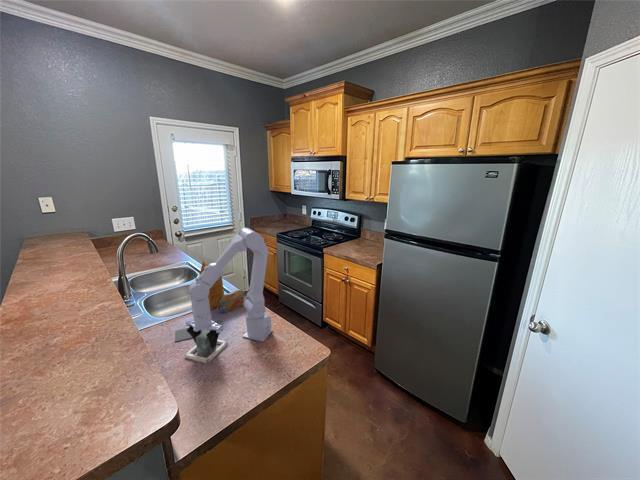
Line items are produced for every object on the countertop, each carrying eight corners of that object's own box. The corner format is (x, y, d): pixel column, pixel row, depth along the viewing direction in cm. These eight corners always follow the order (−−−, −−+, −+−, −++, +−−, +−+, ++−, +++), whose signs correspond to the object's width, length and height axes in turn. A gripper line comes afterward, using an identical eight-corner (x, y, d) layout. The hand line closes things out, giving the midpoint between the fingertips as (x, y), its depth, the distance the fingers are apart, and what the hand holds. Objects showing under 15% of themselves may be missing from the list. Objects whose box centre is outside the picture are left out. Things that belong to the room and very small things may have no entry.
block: (216, 347, 100) (213, 331, 98) (206, 356, 95) (204, 339, 93) (207, 345, 101) (205, 329, 99) (197, 353, 96) (195, 337, 94)
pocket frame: (227, 344, 101) (227, 341, 101) (207, 363, 91) (207, 360, 91) (206, 339, 105) (206, 336, 104) (185, 357, 95) (184, 354, 94)
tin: (219, 315, 121) (217, 299, 119) (216, 313, 124) (214, 297, 121) (248, 304, 132) (247, 289, 129) (245, 302, 134) (243, 287, 132)
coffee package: (217, 296, 140) (212, 257, 134) (227, 304, 132) (223, 263, 126) (198, 302, 133) (192, 262, 128) (207, 311, 125) (202, 268, 119)
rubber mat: (220, 320, 117) (220, 319, 117) (222, 330, 110) (222, 329, 110) (175, 331, 110) (175, 330, 109) (174, 342, 103) (174, 341, 103)
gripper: (177, 315, 92) (182, 347, 96) (210, 322, 88) (214, 356, 91) (192, 305, 99) (196, 336, 102) (224, 311, 94) (227, 344, 98)
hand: (206, 345), depth 97 cm, fingers open, 6 cm apart
